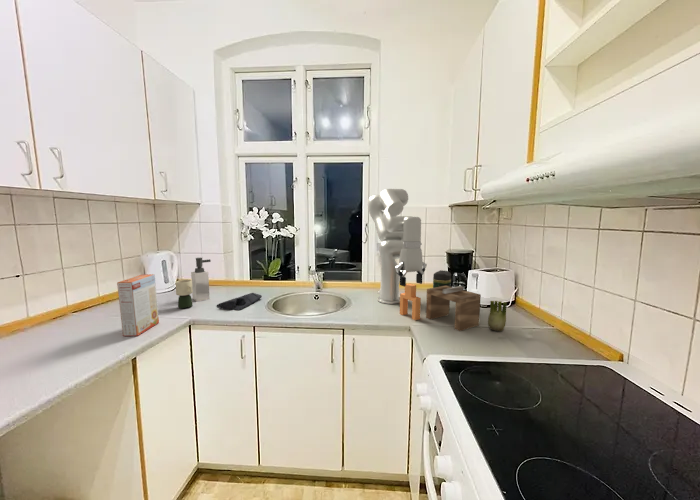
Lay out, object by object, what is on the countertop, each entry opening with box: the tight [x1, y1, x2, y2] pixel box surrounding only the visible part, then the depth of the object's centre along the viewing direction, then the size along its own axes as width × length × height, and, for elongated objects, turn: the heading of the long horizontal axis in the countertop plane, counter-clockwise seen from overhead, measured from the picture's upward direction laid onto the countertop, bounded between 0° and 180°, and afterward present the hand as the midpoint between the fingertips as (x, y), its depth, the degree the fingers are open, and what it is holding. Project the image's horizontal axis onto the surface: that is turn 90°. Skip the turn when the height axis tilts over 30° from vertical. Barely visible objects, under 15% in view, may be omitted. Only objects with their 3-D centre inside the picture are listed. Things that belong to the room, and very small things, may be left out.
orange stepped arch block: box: [399, 283, 422, 321], centre depth 139 cm, size 10×3×14 cm, turn 32°
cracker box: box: [116, 273, 160, 337], centre depth 122 cm, size 14×6×21 cm, turn 1°
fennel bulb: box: [487, 300, 508, 332], centre depth 123 cm, size 6×5×12 cm
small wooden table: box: [425, 285, 481, 332], centre depth 133 cm, size 18×12×15 cm, turn 32°
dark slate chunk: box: [216, 292, 262, 311], centre depth 159 cm, size 15×22×5 cm
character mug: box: [175, 279, 193, 309], centre depth 151 cm, size 11×7×13 cm, turn 60°
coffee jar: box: [432, 269, 452, 309], centre depth 149 cm, size 10×8×19 cm
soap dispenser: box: [190, 257, 212, 302], centre depth 165 cm, size 6×9×22 cm
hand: (411, 284), depth 137 cm, fingers open, 9 cm apart
